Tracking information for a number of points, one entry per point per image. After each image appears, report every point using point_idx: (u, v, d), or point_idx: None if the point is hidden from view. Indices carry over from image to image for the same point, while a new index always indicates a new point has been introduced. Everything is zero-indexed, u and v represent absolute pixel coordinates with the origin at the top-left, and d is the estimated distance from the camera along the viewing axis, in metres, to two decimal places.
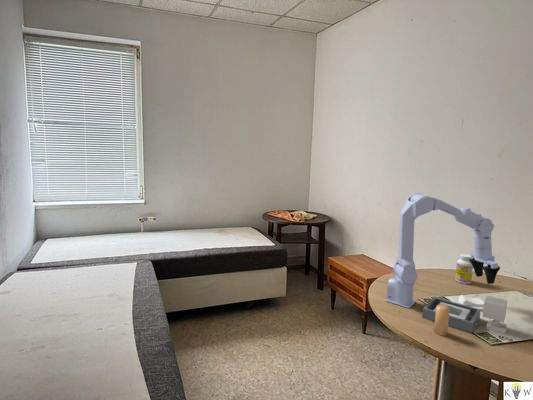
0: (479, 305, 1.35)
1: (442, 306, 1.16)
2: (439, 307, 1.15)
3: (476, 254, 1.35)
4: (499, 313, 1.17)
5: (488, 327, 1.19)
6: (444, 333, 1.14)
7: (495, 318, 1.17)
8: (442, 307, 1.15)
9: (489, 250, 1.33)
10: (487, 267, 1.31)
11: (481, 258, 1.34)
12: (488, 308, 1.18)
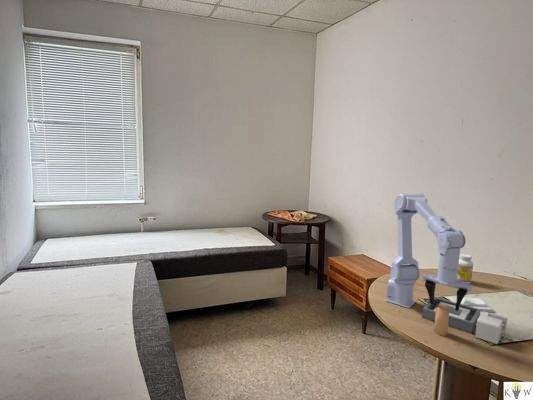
0: (479, 305, 1.35)
1: (442, 306, 1.16)
2: (439, 307, 1.15)
3: None
4: None
5: None
6: (444, 333, 1.14)
7: None
8: (441, 307, 1.15)
9: (438, 268, 1.14)
10: None
11: None
12: None
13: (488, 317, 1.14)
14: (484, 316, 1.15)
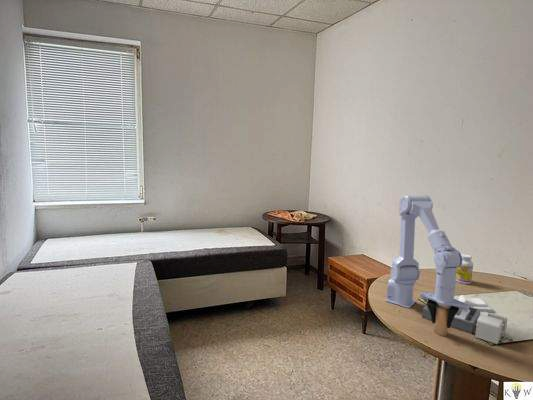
0: (479, 305, 1.35)
1: (442, 306, 1.16)
2: (439, 307, 1.15)
3: None
4: None
5: None
6: (444, 333, 1.14)
7: None
8: (442, 307, 1.15)
9: (435, 286, 1.15)
10: None
11: None
12: None
13: (488, 317, 1.14)
14: (484, 316, 1.15)
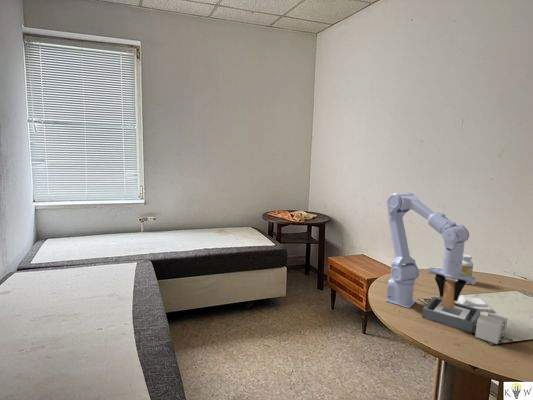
0: (479, 305, 1.35)
1: (450, 280, 1.20)
2: (447, 281, 1.19)
3: None
4: None
5: None
6: (451, 306, 1.19)
7: None
8: (449, 281, 1.20)
9: (443, 261, 1.20)
10: None
11: None
12: None
13: (488, 317, 1.14)
14: (484, 316, 1.15)
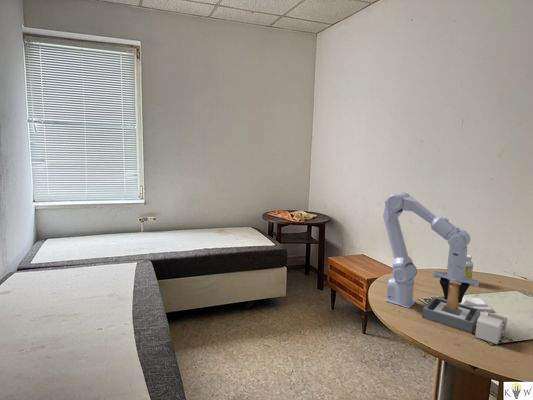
0: (479, 305, 1.35)
1: (454, 283, 1.26)
2: (451, 284, 1.25)
3: None
4: None
5: None
6: (456, 308, 1.24)
7: None
8: (453, 284, 1.25)
9: None
10: None
11: None
12: None
13: (488, 317, 1.14)
14: (484, 316, 1.15)
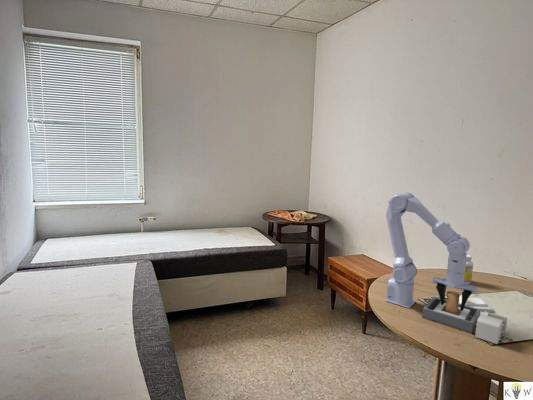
0: (479, 305, 1.35)
1: (452, 292, 1.26)
2: (450, 293, 1.25)
3: None
4: None
5: None
6: None
7: None
8: (452, 293, 1.25)
9: None
10: None
11: None
12: None
13: (488, 317, 1.14)
14: (484, 316, 1.15)
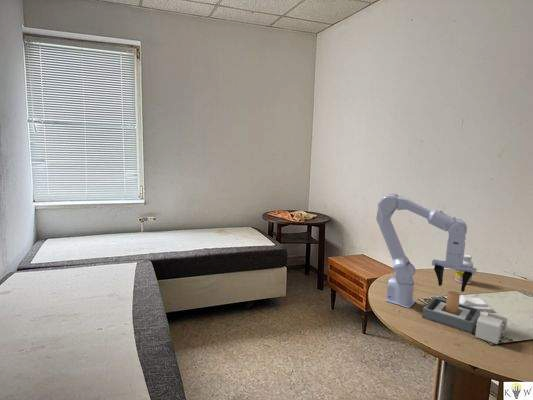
0: (479, 305, 1.35)
1: (453, 292, 1.26)
2: (450, 293, 1.25)
3: None
4: None
5: None
6: None
7: None
8: (452, 293, 1.25)
9: (446, 253, 1.28)
10: None
11: None
12: None
13: (488, 317, 1.14)
14: (484, 316, 1.15)
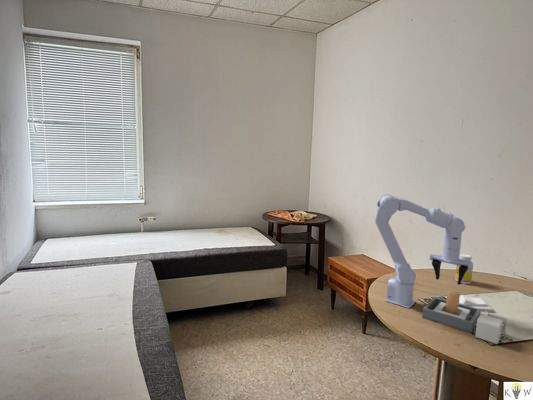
0: (479, 305, 1.35)
1: (452, 292, 1.26)
2: (450, 293, 1.25)
3: None
4: None
5: None
6: None
7: None
8: (452, 293, 1.25)
9: (443, 248, 1.34)
10: None
11: None
12: None
13: (488, 317, 1.14)
14: (484, 316, 1.15)
